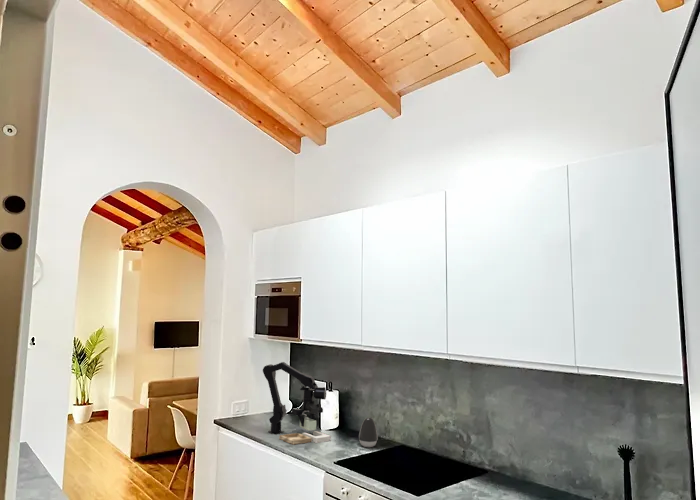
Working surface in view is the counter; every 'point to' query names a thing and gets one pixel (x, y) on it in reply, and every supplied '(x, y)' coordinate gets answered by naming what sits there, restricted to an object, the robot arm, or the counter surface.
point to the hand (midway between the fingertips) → (306, 425)
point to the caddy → (308, 423)
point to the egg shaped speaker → (368, 433)
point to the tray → (295, 438)
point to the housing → (318, 437)
